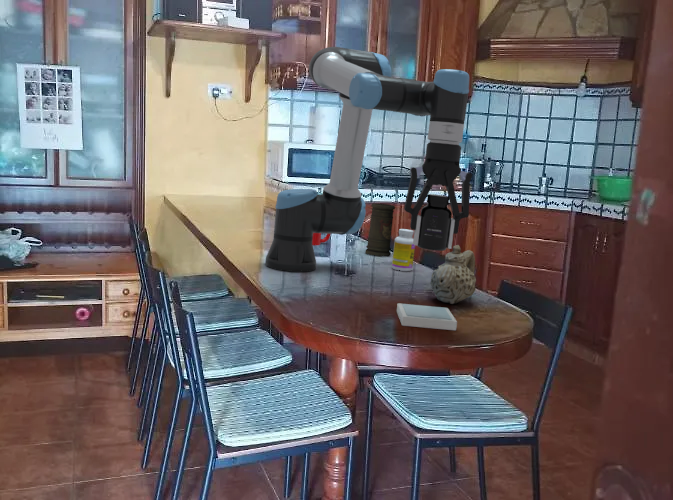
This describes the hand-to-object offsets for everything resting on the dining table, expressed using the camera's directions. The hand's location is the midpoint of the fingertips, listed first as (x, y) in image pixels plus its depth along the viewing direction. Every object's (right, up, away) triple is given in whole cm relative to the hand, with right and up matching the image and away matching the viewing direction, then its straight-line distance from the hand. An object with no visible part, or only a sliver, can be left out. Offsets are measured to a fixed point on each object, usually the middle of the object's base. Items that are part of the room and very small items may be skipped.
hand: (432, 245), depth 147 cm
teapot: (+9, -15, +25) cm, 30 cm away
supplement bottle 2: (0, -1, 0) cm, 1 cm away
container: (-7, -3, +88) cm, 88 cm away
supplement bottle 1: (-1, -7, +63) cm, 64 cm away
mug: (-30, +1, +98) cm, 102 cm away
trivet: (-1, -17, +3) cm, 17 cm away
